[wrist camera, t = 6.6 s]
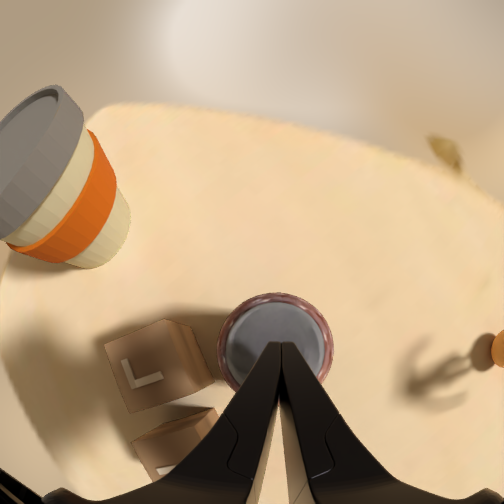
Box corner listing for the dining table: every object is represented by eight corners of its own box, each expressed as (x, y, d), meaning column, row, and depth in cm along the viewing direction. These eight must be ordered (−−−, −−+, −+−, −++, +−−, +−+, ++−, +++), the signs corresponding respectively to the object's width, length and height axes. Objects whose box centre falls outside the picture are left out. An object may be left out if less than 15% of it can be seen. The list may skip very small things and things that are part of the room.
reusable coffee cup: (99, 310, 23) (-29, 260, 9) (42, 250, 26) (-47, 191, 12) (170, 203, 26) (97, 85, 12) (99, 166, 29) (35, 81, 15)
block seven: (160, 401, 20) (125, 414, 14) (139, 348, 21) (99, 345, 16) (214, 381, 20) (193, 393, 14) (190, 326, 22) (162, 318, 16)
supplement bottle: (308, 309, 22) (343, 271, 11) (314, 381, 20) (356, 412, 9) (235, 315, 22) (199, 282, 11) (239, 387, 20) (206, 424, 9)
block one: (186, 471, 17) (160, 501, 12) (160, 424, 19) (126, 443, 13) (240, 456, 18) (229, 489, 12) (214, 407, 19) (193, 426, 14)
